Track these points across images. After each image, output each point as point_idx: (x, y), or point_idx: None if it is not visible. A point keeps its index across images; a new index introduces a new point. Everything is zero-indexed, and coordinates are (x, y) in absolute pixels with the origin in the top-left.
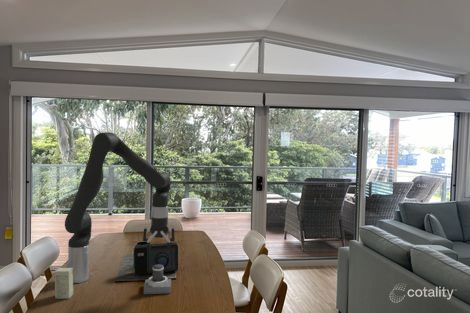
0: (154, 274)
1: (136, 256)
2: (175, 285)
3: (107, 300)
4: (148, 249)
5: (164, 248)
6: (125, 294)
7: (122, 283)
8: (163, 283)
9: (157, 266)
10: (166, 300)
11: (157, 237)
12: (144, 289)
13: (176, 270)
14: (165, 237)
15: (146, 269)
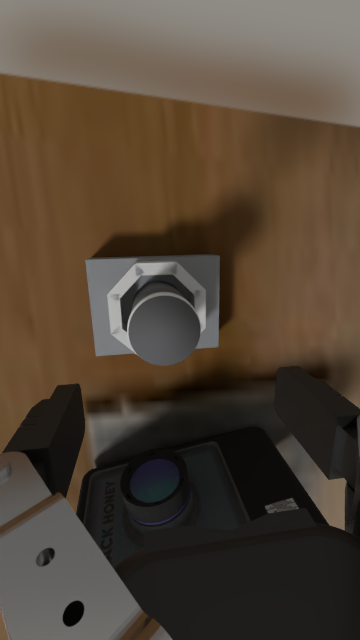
0: (180, 294)
1: (299, 494)
2: (78, 338)
3: (348, 203)
4: (298, 367)
5: None
6: (284, 256)
7: (301, 357)
8: (124, 274)
9: (169, 329)
10: (99, 179)
11: (263, 518)
12: (213, 255)
13: (90, 470)
14: (48, 531)
15: (223, 450)
